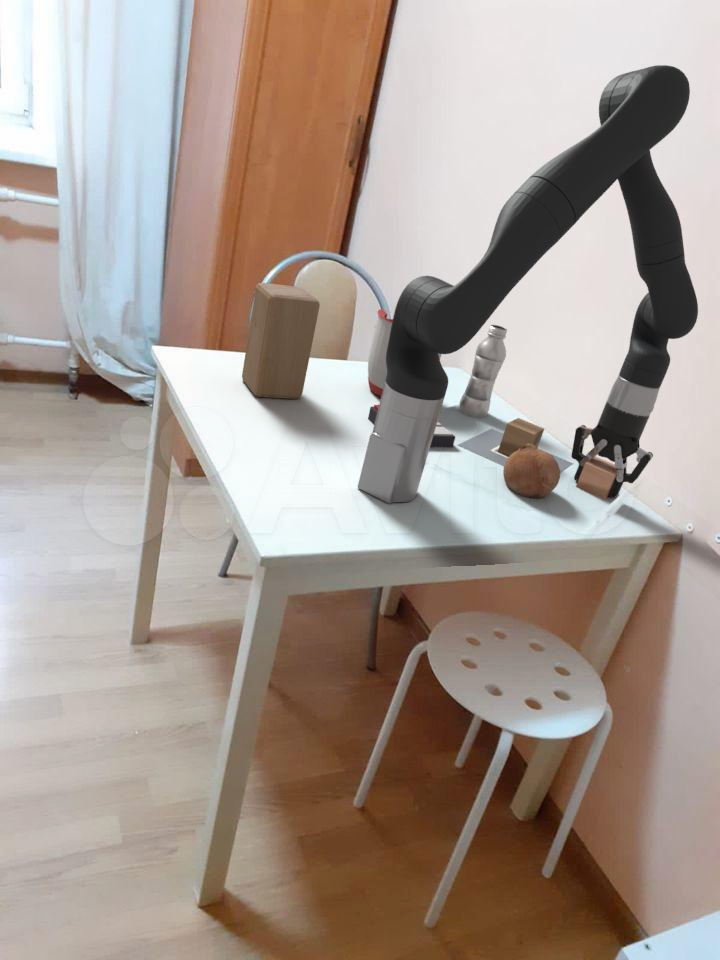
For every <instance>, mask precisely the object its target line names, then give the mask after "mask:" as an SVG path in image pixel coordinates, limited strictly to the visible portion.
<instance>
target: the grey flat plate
mask: <svg viewBox="0 0 720 960" xmlns="http://www.w3.org/2000/svg"><path fill="white" fill-rule="evenodd" d="M503 435H504V432H501V431H499V430H496V429H494V428H489V429H488V430H486V431H483V432H482V433H481V432H480V433H479V434H477V435H475V436H473V437H471V438H468V439H467V440H465V441H462V442H460V443H458V444H457V446H458V447H460V448H462V449H464V450H467V451H468V452H471V453H473V454H475V455H478V456H480V457H483V458H485V459H487V460H488V461H490V462H493V463H495V464H498V465H500V466H502V467H504V465H505V462H506V460H507V459H508V458H509V457H508V456H506V455H504V454H501V453H499V452H498V449H499V446H500V443H501V440H502V438H503ZM537 449H539V450H542V451H544V452H547V453H549V454H551V455H552V456H553V457H554V459H555V460H556V461H557V463H558V465H559V469H560V474H561V473H563V471H565V470H566V469H568V468H569V467H571V466H572V465H573V464H574V463H573V462H570V461H568V460H566V459H564V458H561V457H559V456H557V455H554V454H552V453H550V452H548V451H545V450H543V449H540V448H539V447H538V448H537Z"/></svg>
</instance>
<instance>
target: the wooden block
mask: <svg viewBox="0 0 720 960" xmlns="http://www.w3.org/2000/svg"><path fill="white" fill-rule="evenodd" d="M253 297H254V298H253V304H252V310H251V316H250V321H249V323H250V324H249V328H248V335H247V341H246V348H245V355H244V359H243V367H242V373H241V377H242V381H243V382H244V383H245V385H246V386H247V387H248V388H249V390H250V391H251V393H252V394H253V395H254V396H255V397H257V398H272V399H274V398H276V399H294V400H295V399H296V400H299V399H301V398H302V396H303V392H304V387H305V382H306V376H307V372H308V368H309V367H308V366H309V362H310V357H311V352H312V351H311V350H312V347H313V341H314V336H315V331H316V325H317V322H318V321H317V320H318V316H319V311H320V305H321V304H320V301H319V300H318V299H316V298H315V296H313V295H311V294H310V293H309V292H308V291H306V289H304V288H303V287H301V286H300V287H299V286H291V285H284V284H278V283H277V284H276V283H268V282H259V283H257V284H256V286H255V290H254V296H253Z"/></svg>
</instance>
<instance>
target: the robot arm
mask: <svg viewBox="0 0 720 960" xmlns="http://www.w3.org/2000/svg"><path fill="white" fill-rule="evenodd" d="M690 92H691V89H690V81H689V79H688V77H687V75H686V74H685V73H684V72H683V71H682V70H681V69H680V68H678V67H675V66H671V65H665V64H664V65H660V64H659V65H658V64H657V65H653V66H648V67H644V68H642V69H640V68H639V69H636V70H633V71H629V72H625V73H622V74H619V75H617V76H615V77H613V79H611V80H610V81H609V82H608V83H607V85H605V86H604V88H603V91H602V93H601V95H600V98H599V102H598V117H599V123H600V124H599V125H600V126H599V127H598V128H597V129H596V130H595V131H593V132H592V133H591V134H589V135H588V136H586V137H585V138H583V139H582V140H580V141H579V142H577V143H575V144H574V145H572V146H570V147H569V148H567V149H566V150H563V151H562V152H561V153H559V154H558V155H556V156H554V157H553V158H552V159H550V160H548V161H547V162H546V163H545V164H543V165H542V166H541V167H539V168H538V169H536V171H535V172H534V173H532V174H531V175H530V176H529V177H528V178H527V179H526V180H525V181H524V182H523V183H522V184H521V185H520V187H519V188H518V189H517V190H515V191H514V192H513V193H512V195H510V197H509V198H508V200H506V201H505V203H504V204H503V206H502V207H501V210H500V211H499V214H498V217H497V219H496V222H495V225H494V228H493V232H492V235H491V238H490V242H489V245H488V248H487V249H486V252H485V253H484V255H483V257H482V258H481V259H480V260H479V262H478V263H477V264H476V265H475V266H474V267H473V268H472V269H471V270H470V272H468V274H467V275H466V276H464V278H462V279H461V280H460V281H458V283H457V284H455V285H453V284H451V283H449V282H446V281H445V280H443V279H440V278H438V277H435V276H432V275H421V276H417V277H416V278H414V279H412V280H411V281H410V282H409V283H408V284H407V285H406V286H405V288H404V289H403V290H402V292H401V294H400V295H399V298H398V301H397V303H396V305H395V308H394V309H395V310H394V312H393V316H392V319H393V321H392V326H391V331H390V337H389V342H388V347H387V352H386V366H387V376H386V380H385V384H384V388H383V392H382V396H381V397H380V400H379V404H378V405H379V408H378V412H377V416H376V420H375V424H374V425H373V427H372V428H373V429H372V433H370V435H369V440H368V442H367V448H366V452H365V455H364V458H363V459H364V460H363V463H362V466H361V472H360V476H359V480H358V484H357V489H359V490H361V491H363V492H366V493H367V494H369V495H371V496H373V497H375V498H377V499H379V500H380V501H383V502H385V503H387V504H389V505H390V504H392V503H407V502H411V501H413V500H414V499H416V497H417V495H418V490H419V487H420V484H421V479H422V476H423V472H424V469H425V466H426V463H427V458H428V455H429V452H430V449H431V447H430V445H431V442H432V439H433V435H434V432H435V428H436V425H437V422H439V417H440V413H441V410H442V407H443V404H444V400H445V396H446V394H447V390H448V387H449V386H448V385H449V377H448V375H447V373H446V371H445V370H444V367H443V365H442V362H441V358H440V359H439V354H441V355H449V354H453V353H455V352H457V351H459V350H460V349H462V348H464V347H465V346H466V345H467V344H469V343H470V341H471V340H472V339H473V338H474V337H475V336H476V335H477V334H478V332H479V331H481V329H482V327H483V326H484V325H485V324H486V322H488V320H490V317H491V316H492V315H493V313H495V311H496V310H497V309H498V307H499V306H500V305H501V304H502V302H504V300H505V299H506V297H507V296H508V295H509V293H510V292H512V290H513V289H514V288H515V287H516V286H517V284H519V282H520V281H521V280H522V279H523V278H524V277H525V276H526V274H528V273H529V272H530V270H531V269H532V268H533V267H534V266H535V265H536V264H537V263H538V262H539V261H540V259H542V257H543V256H544V255H546V254H547V253H548V251H549V250H551V249H552V248H553V247H554V246H555V245H556V244H557V243H558V242H559V241H560V240H561V239H562V238H563V237H564V236H565V235H566V234H567V233H568V231H570V230H571V229H572V227H574V225H576V223H577V222H578V221H579V220H580V219H581V218H582V217H583V215H584V214H585V213H586V212H587V211H588V210H589V209H590V208H591V207H592V206H593V205H594V204H595V203H596V202H597V201H598V200H599V199H600V198H601V197H602V196H603V195H604V194H605V193H606V192H607V191H608V189H610V187H611V186H613V184H615V182H616V181H618V183H619V188H620V190H621V194H622V197H623V200H624V203H625V206H626V207H625V208H626V210H627V215H628V220H629V224H630V230H631V236H632V243H633V248H634V255H635V256H634V257H635V263H636V268H637V272H638V276H639V277H640V278H641V280H642V281H643V282H644V284H645V285H646V287H647V291H648V292H647V293H646V294H645V295H644V296H643V298H642V300H641V301H640V302H639V304H638V307H637V308H636V311H635V315H634V318H633V323H632V327H631V333H630V339H629V347H628V351H627V354H626V356H625V358H624V361H623V363H622V366H621V368H620V371H619V373H618V375H617V378H616V379H615V381H614V382H613V385H612V387H611V389H610V392H609V394H608V396H607V399H606V402H605V404H604V407H603V409H602V412H601V414H600V417H599V419H598V421H597V424H596V425H595V427H594V428H591V427H587V426H586V425H584V424H581V425H579V426H578V427H577V428H575V433H574V439H573V444H572V451H571V458H572V459H573V460H575V461H576V462H577V463H578V466H577V468H576V471H575V474H574V476H573V477H574V479H573V480H574V481H575V484H577V483H578V480H579V477H580V475H581V472H582V470H583V467H584V465H585V463H586V462H587V461H591V460H592V459H593V458H594V457H595V456H596V457H597V456H598V457H602V458H607V459H608V460H609V462H610V461H611V462H612V463H613V462H614V464H615V469H616V473H617V475H616V479H615V480H614V482H613V485H612V487H611V489H610V492H609V494H608V497H607V498H609V499H612V498H616V497H617V496H618V495H619V493H620V492H621V489H622V487H623V484H624V483H629V484H633V483H634V482H635V481H636V480H638V478H639V477H640V475H641V474H642V472H643V471H644V470H645V469H646V467H647V466H648V464H649V463H650V462H651V460H652V459H653V457H654V454H653V452H651V451H646V450H644V449H643V448H641V447H640V439H641V437H642V435H643V432H644V431H645V428H646V426H647V423H648V420H649V419H650V417H651V413H652V412H653V411H654V409H655V404H656V402H657V399H658V396H659V392H660V389H661V387H662V384H663V381H664V379H665V377H666V375H667V372H668V369H669V366H670V364H671V355H670V353H669V351H668V342H669V339H670V340H676V339H680V338H684V337H685V336H687V335H688V334H689V333H690V332H691V331H692V330H693V329H694V327H695V325H696V323H697V320H698V316H699V307H698V306H699V304H698V298H697V295H696V291H695V288H694V285H693V281H692V278H691V275H690V273H689V270H688V268H687V264H686V259H685V257H686V256H685V247H684V239H683V238H684V237H683V230H682V225H681V220H680V215H679V213H678V210H677V208H676V206H675V204H674V201H673V200H672V199H671V197H670V195H669V194H668V191H667V189H666V188H665V187H664V184H663V183H662V181H661V179H660V177H659V176H658V173H657V171H656V168H655V165H654V162H653V159H652V154H651V149H653V148H654V147H655V146H656V145H658V144H659V143H660V142H661V141H662V140H663V139H665V138H666V137H668V135H670V133H672V131H674V129H675V128H676V127H677V126H678V125H679V123H680V122H681V120H682V118H683V117H684V115H685V114H686V111H687V108H688V105H689V101H690ZM589 436H591V440H592V444H593V448H592V449H591V450H590V451H588V452H587V454H586V455H585V454H584V453H583V451H584V445H585V440H586V439H588V438H589ZM634 454H636V462H637V465H636V466H635V467H634V468H633V470H632V472H630V473H628V472H627V471H628V470H627V467H628V458H629V457H630V456H632V455H634Z"/></svg>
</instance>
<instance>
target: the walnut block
mask: <svg viewBox="0 0 720 960" xmlns="http://www.w3.org/2000/svg"><path fill="white" fill-rule="evenodd" d="M544 431H545V428H543V427H541V426H539V425H537V424H534V423H532V422H529V421H528V420H527V421H526V420H525V419H521V418H520V417H518V418H515V419H513V420H511V421H509V422H507V423H506V426H505V430H504V432H503V433H504V435H503V438H502V440H501V443H500V446H499V449H498V452H499V453H501V454H504V455H506V456H508V457H509V456H510V455H511V454H513V453H514V452H516V451H518V450H519V449H520V448H521V447H523V446H525V445H526V444H527V443H528V444H529V443H530V444H532V445H534V446H536V447H537V448H538V449H539V445H540V442H541V438H542V437H543V434H544Z"/></svg>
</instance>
